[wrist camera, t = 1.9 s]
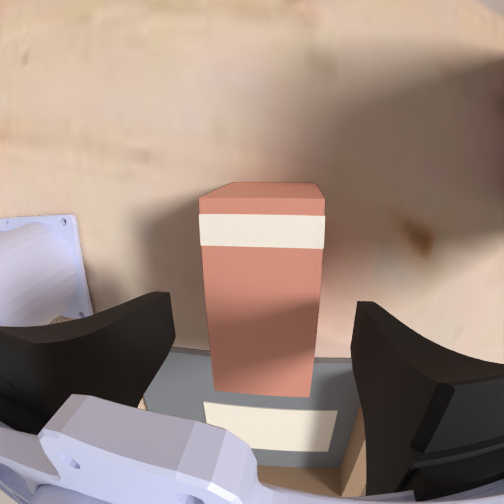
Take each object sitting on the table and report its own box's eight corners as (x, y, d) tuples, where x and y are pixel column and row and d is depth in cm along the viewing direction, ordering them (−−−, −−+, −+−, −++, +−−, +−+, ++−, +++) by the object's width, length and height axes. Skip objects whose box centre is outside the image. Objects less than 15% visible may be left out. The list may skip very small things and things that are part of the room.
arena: (166, 454, 26) (153, 483, 22) (133, 341, 21) (108, 372, 18) (353, 470, 23) (355, 503, 19) (390, 357, 19) (404, 396, 15)
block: (236, 327, 20) (213, 390, 14) (231, 182, 17) (198, 198, 11) (308, 331, 19) (310, 397, 13) (316, 183, 16) (325, 199, 11)
